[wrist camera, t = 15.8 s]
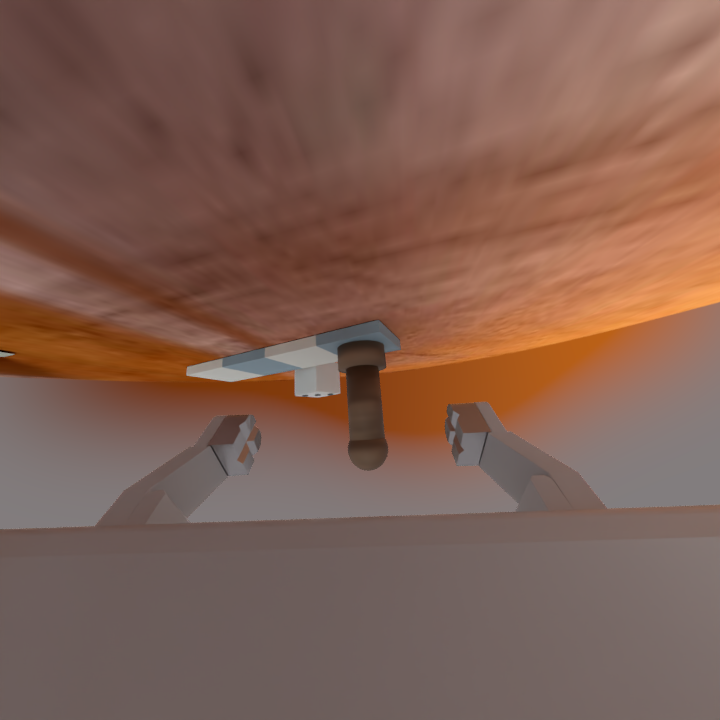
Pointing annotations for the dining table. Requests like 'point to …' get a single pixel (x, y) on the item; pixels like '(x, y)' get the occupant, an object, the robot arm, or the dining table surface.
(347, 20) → the dining table surface
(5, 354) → the condiment
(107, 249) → the dining table surface
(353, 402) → the pawn
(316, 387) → the die
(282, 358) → the board
